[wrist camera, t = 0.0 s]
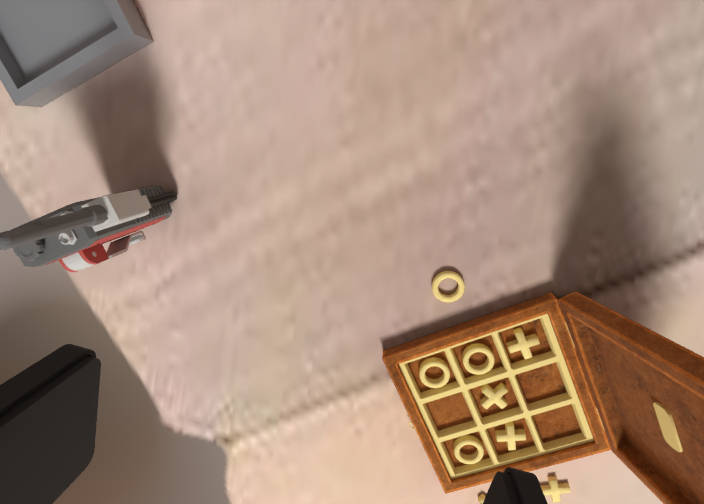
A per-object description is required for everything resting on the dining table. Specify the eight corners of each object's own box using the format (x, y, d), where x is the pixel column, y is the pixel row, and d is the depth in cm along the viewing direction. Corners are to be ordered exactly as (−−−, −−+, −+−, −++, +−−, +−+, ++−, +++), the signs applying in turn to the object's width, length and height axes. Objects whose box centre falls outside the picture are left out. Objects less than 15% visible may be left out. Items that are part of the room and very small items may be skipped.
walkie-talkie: (189, 173, 40) (-4, 210, 21) (209, 216, 41) (42, 289, 22) (113, 205, 42) (-129, 266, 23) (134, 246, 43) (-82, 337, 24)
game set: (354, 303, 42) (318, 434, 24) (582, 217, 38) (754, 296, 19) (456, 520, 48) (490, 760, 30) (666, 468, 43) (860, 713, 25)
